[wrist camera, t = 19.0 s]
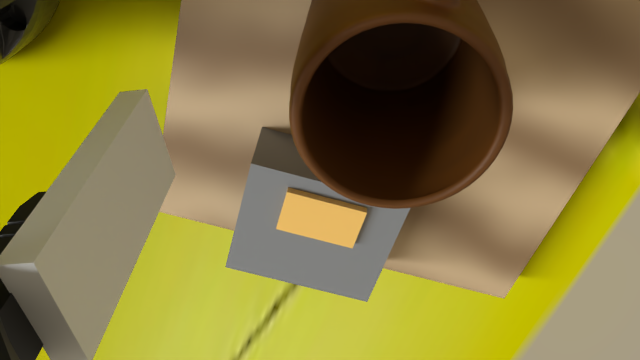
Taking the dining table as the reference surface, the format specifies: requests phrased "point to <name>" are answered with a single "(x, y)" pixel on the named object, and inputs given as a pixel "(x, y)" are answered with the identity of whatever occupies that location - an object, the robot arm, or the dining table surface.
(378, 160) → the mug
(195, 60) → the board
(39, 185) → the dining table surface
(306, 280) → the grey rectangular block
